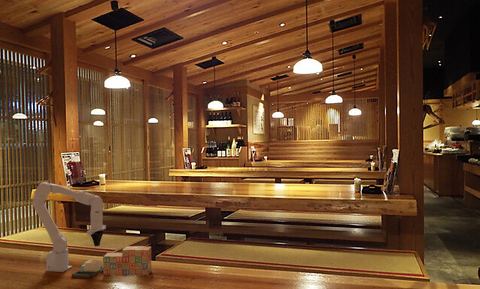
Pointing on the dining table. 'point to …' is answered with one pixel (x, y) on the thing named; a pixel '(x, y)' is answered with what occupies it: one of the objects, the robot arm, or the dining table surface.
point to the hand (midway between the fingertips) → (97, 245)
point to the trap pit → (84, 274)
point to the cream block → (92, 265)
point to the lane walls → (84, 268)
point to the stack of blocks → (128, 262)
